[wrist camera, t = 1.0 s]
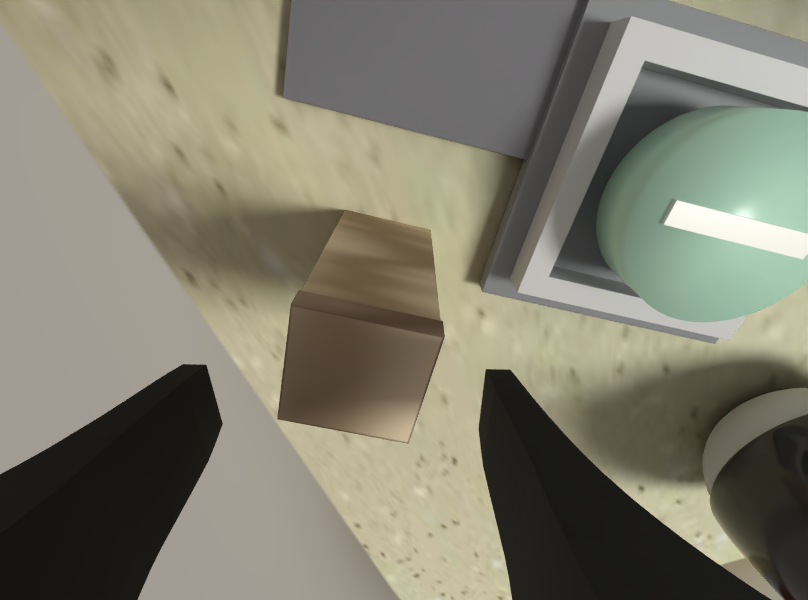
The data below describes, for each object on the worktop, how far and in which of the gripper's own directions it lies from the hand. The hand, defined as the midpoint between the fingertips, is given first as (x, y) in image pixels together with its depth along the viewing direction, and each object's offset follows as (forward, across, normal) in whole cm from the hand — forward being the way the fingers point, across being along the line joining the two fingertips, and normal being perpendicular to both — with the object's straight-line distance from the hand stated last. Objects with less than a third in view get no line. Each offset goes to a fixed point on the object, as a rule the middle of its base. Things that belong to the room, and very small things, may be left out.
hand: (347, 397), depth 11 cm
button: (+7, -12, -3) cm, 14 cm away
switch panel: (+10, -12, -3) cm, 16 cm away
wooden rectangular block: (+10, 0, 0) cm, 10 cm away
